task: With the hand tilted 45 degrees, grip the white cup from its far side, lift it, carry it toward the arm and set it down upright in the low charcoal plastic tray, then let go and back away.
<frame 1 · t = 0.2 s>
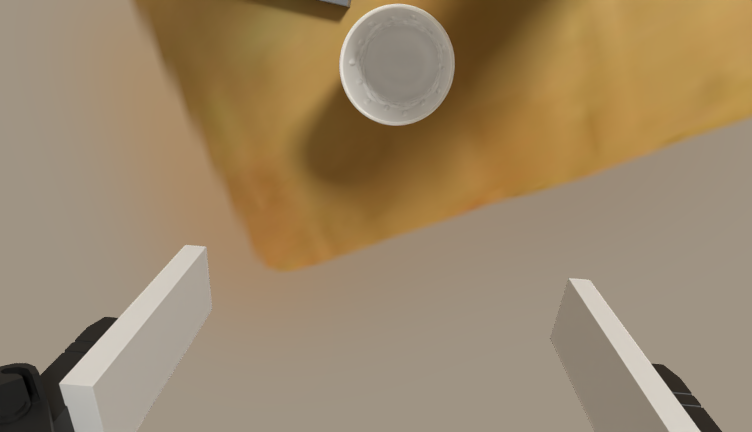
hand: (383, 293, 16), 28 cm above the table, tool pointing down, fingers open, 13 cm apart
white cup: (402, 63, 40), on the table
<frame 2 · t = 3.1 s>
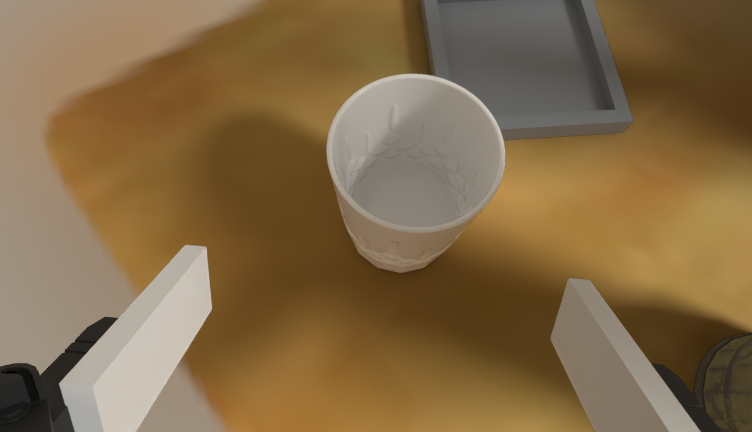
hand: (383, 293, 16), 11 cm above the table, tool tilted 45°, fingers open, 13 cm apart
charcoal tray: (514, 62, 33), on the table
white cup: (399, 223, 29), on the table
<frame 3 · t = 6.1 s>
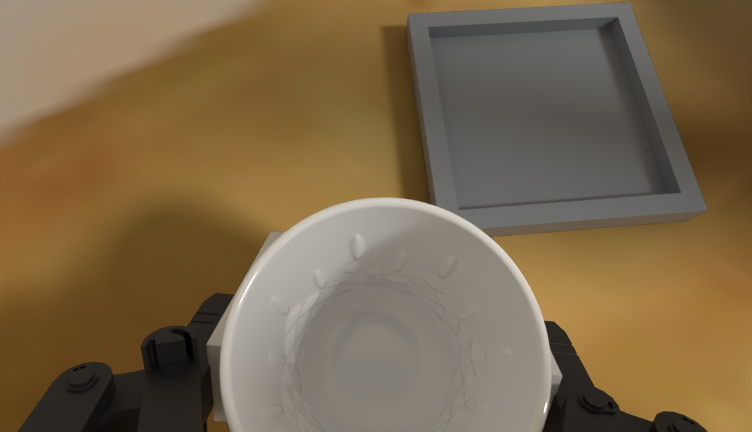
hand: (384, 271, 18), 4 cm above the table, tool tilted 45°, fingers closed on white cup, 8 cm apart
charcoal tray: (535, 120, 25), on the table
white cup: (375, 364, 20), on the table, touching gripper
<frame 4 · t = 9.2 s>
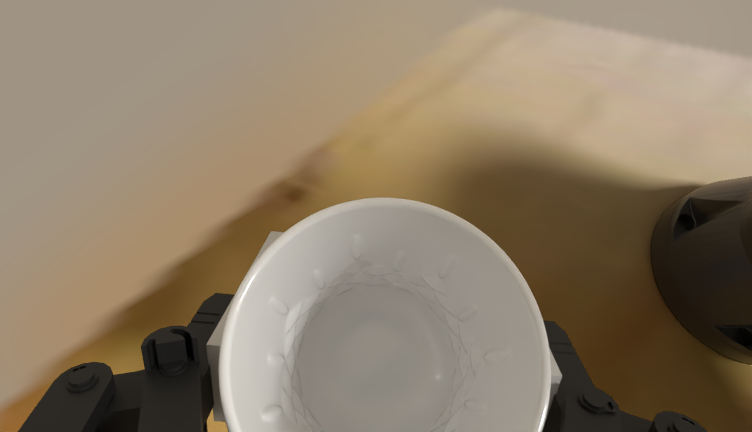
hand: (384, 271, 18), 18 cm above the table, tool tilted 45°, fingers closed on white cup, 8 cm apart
white cup: (374, 365, 20), point 14 cm above the table, touching gripper
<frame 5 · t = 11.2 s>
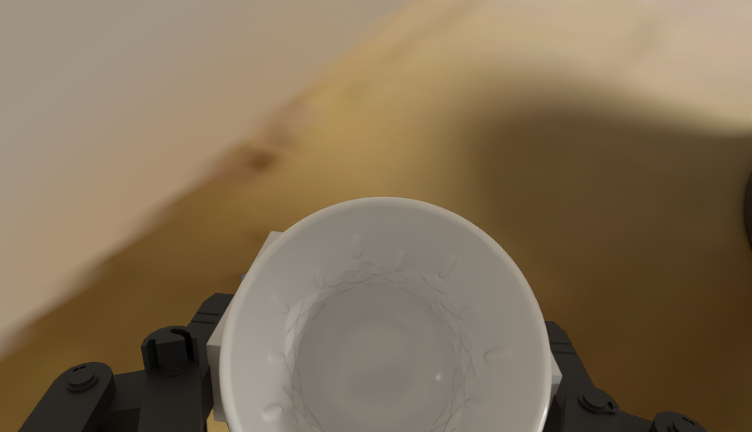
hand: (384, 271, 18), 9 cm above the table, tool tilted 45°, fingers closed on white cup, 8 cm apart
white cup: (375, 364, 20), point 5 cm above the table, touching gripper
when the fingers open (6 cm above the table, at t = 12.7 s): white cup drops 1 cm, resting on charcoal tray.
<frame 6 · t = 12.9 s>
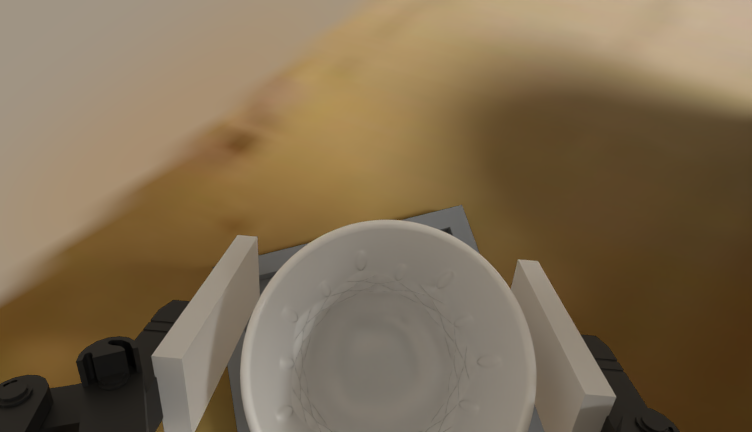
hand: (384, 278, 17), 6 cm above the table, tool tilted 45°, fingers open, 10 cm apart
charcoal tray: (374, 366, 22), on the table
white cup: (375, 365, 21), resting on charcoal tray
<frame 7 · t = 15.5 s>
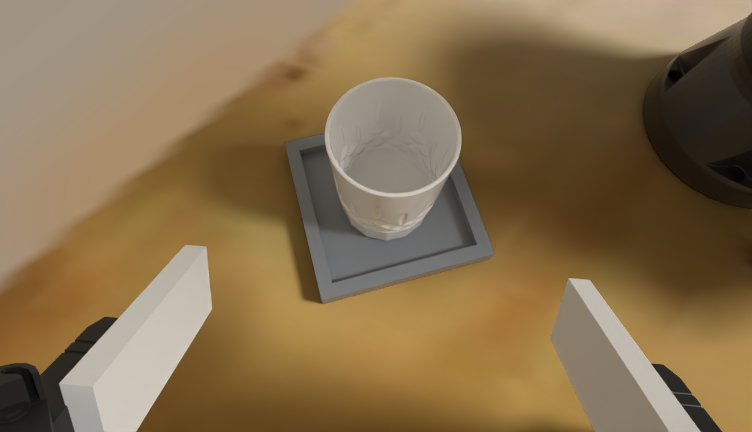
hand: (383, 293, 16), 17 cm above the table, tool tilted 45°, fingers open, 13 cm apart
charcoal tray: (384, 203, 35), on the table
white cup: (385, 201, 35), resting on charcoal tray
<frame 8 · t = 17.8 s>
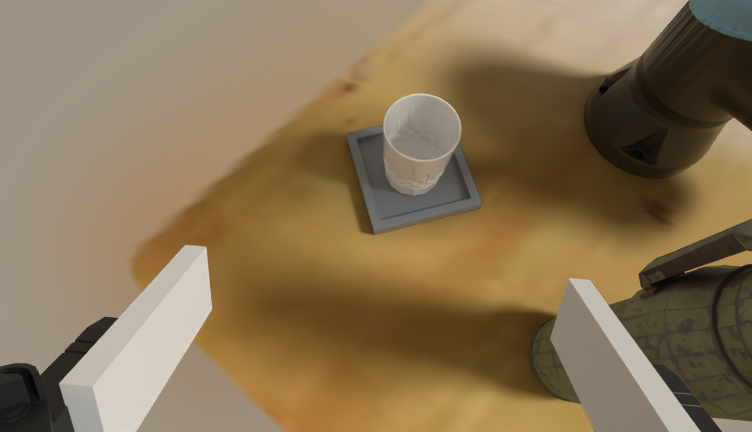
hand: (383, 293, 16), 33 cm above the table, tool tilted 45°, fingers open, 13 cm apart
charcoal tray: (411, 173, 54), on the table
thermos: (568, 357, 47), on the table
white cup: (412, 171, 54), resting on charcoal tray
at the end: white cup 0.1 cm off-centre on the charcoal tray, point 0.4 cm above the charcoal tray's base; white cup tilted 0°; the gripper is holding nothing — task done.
